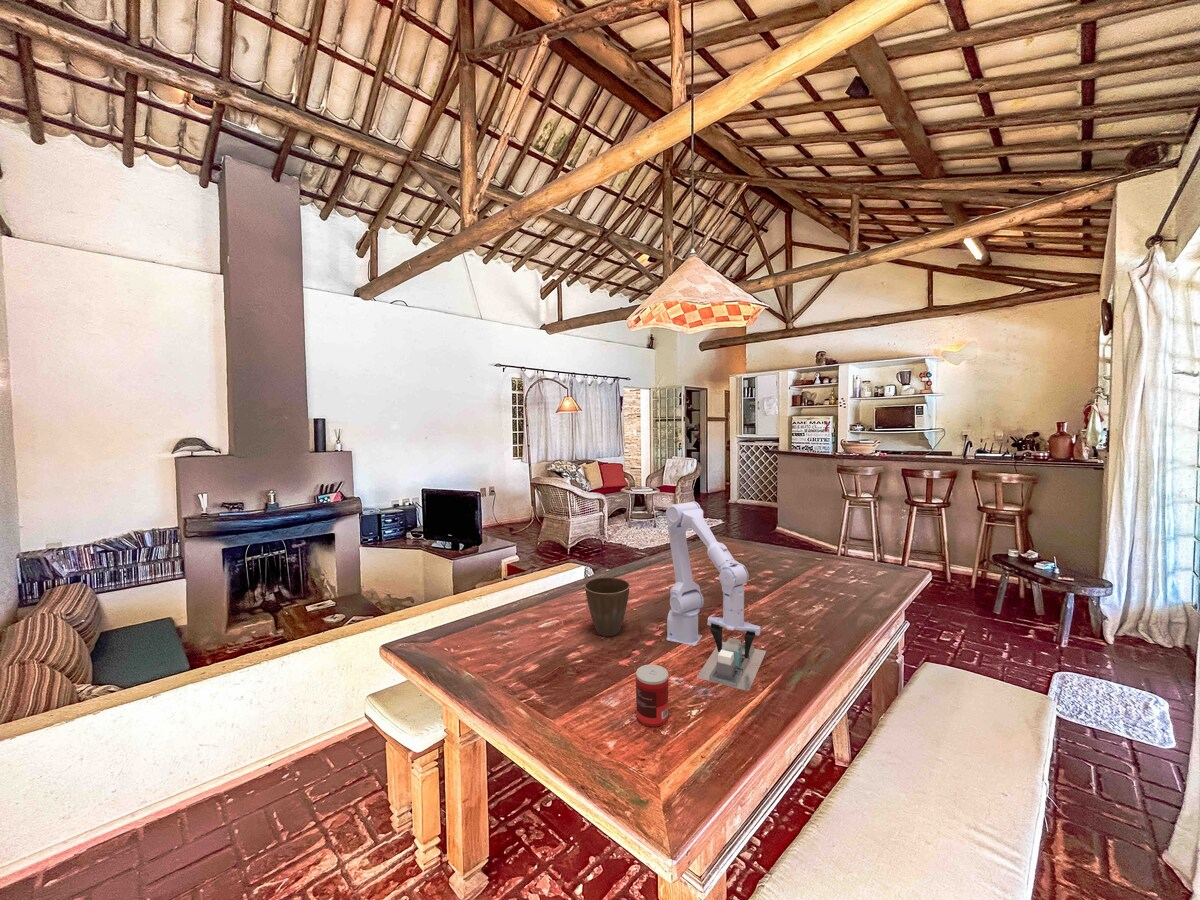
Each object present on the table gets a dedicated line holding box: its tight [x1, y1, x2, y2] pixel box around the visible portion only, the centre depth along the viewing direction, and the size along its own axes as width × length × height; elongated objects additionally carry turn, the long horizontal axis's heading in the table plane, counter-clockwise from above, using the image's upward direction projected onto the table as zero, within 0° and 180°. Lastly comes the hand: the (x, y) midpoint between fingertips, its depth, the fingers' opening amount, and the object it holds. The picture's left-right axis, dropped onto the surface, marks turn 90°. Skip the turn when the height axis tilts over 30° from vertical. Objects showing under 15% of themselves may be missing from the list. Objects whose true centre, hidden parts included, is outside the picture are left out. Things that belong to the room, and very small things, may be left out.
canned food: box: [635, 664, 669, 728], centre depth 113 cm, size 8×8×11 cm
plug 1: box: [724, 637, 742, 666], centre depth 137 cm, size 4×4×6 cm
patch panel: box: [696, 640, 767, 692], centre depth 137 cm, size 14×24×2 cm, turn 151°
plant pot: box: [584, 577, 631, 637], centre depth 159 cm, size 15×15×16 cm
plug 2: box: [717, 650, 735, 680], centre depth 130 cm, size 4×4×6 cm
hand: (733, 653), depth 137 cm, fingers open, 7 cm apart
